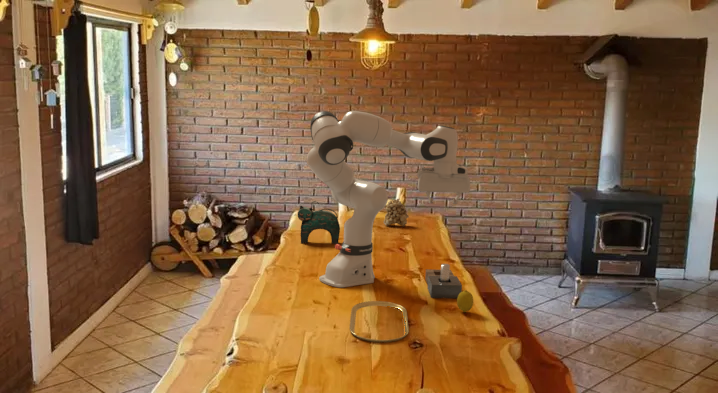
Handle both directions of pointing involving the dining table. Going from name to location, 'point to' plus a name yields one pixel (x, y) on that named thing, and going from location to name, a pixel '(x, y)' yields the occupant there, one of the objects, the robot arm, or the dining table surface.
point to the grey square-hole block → (444, 287)
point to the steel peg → (444, 273)
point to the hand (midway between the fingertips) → (442, 203)
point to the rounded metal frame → (377, 303)
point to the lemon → (465, 301)
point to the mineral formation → (395, 213)
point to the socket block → (434, 273)
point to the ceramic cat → (318, 223)
